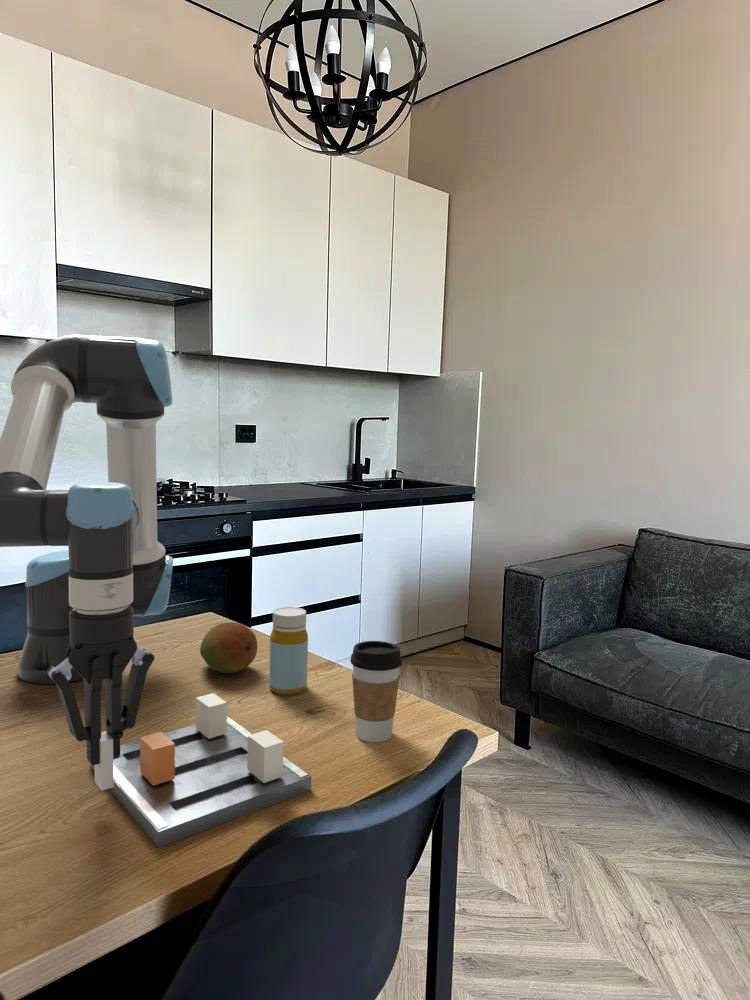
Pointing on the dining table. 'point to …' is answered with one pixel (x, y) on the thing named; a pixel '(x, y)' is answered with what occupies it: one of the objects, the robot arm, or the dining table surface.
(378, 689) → the coffee cup
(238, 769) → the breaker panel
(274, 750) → the block
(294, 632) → the bottle
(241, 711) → the dining table surface
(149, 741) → the block
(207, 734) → the block
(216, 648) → the fruit
